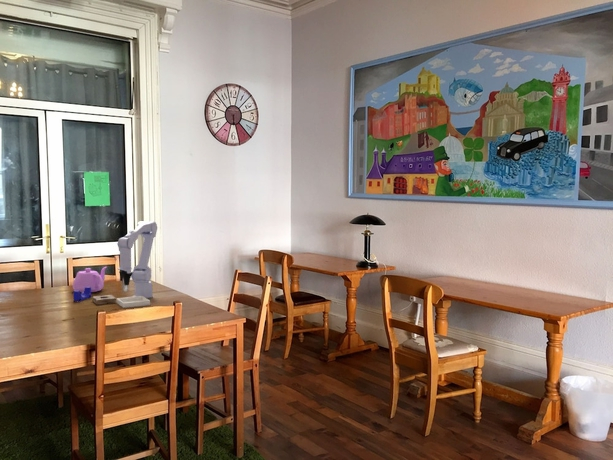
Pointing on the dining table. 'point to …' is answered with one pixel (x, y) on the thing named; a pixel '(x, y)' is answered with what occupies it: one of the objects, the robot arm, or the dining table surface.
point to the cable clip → (82, 294)
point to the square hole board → (104, 299)
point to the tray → (133, 301)
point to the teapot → (89, 280)
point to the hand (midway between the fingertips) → (125, 284)
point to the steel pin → (125, 287)
